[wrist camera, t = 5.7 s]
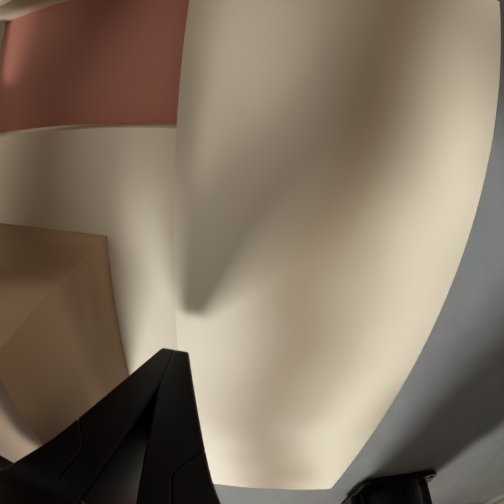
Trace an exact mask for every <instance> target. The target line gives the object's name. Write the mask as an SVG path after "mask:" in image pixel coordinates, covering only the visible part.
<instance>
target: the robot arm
mask: <svg viewBox="0 0 504 504" xmlns="http://www.w3.org/2000/svg"><path fill="white" fill-rule="evenodd" d="M436 475H437V474H436V470H432V471H427V472H422V473H417V474H411V475H405V476H399V477H392V478H384V479H376V480H369V481H366V482H364V483H363V484H362V485H361V486H360V487H359V488H358V489H357V490H356V491H355V492H354V493H353V494H352V495H351V496H350V497H349V498H348V499H347V500H346V501H345V502H344V503H343V504H432V500H431V496H430V492H429V488H428V484H427V483H428V482H430V481H431V480H432V479H433V478H434V477H435V476H436ZM0 504H221V503H220V500H219V498H218V495H217V493H216V490H215V487H214V484H213V481H212V478H211V474H210V470H209V466H208V462H207V457H206V452H205V447H204V442H203V437H202V432H201V426H200V421H199V415H198V409H197V403H196V397H195V391H194V385H193V378H192V372H191V365H190V358H189V353H188V352H185V351H179V350H173V349H168V348H162V349H160V350H159V351H158V352H157V353H155V354H154V355H153V356H152V357H151V358H150V359H148V360H147V361H146V362H145V363H144V364H142V365H141V366H140V367H139V368H138V369H137V370H135V371H134V372H133V373H132V374H131V375H129V376H128V377H127V378H126V379H125V380H124V381H122V382H121V383H120V384H119V385H118V386H116V387H115V388H114V389H113V390H112V391H110V392H109V393H108V394H107V395H106V396H104V397H103V398H102V399H101V400H100V401H99V402H97V403H96V404H95V405H94V406H93V407H91V408H90V409H89V410H88V411H87V412H85V413H84V414H83V415H82V416H81V417H79V420H76V421H74V422H73V423H72V424H71V425H69V426H68V427H67V428H66V429H64V430H63V431H62V432H61V433H59V434H58V435H57V436H55V437H54V438H53V439H51V440H50V441H48V442H47V443H45V444H44V445H42V446H41V447H39V448H37V449H36V450H34V451H33V452H31V453H29V454H28V455H26V456H24V457H23V458H21V459H19V460H18V461H16V462H15V463H13V464H11V465H10V466H8V467H6V468H4V469H2V470H0Z"/></svg>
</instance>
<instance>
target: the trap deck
mask: <svg viewBox="0 0 504 504" xmlns="http://www.w3.org/2000/svg"><path fill="white" fill-rule="evenodd" d="M500 59H501V21H500V2H499V1H498V0H0V223H3V224H12V225H20V226H29V227H37V228H45V229H54V230H62V231H71V232H79V233H88V234H96V235H105V236H107V242H108V253H109V262H110V270H111V278H112V286H113V293H114V300H115V306H116V312H117V318H118V324H119V330H120V335H121V340H122V346H123V351H124V355H125V360H126V365H127V369H128V374H129V375H131V374H132V373H133V372H134V371H135V370H137V369H138V368H139V367H140V366H141V365H142V364H144V363H145V362H146V361H147V360H148V359H150V358H151V357H152V356H153V355H154V354H155V353H157V352H158V351H159V350H160V349H162V348H168V349H173V350H179V351H185V352H188V353H189V358H190V365H191V372H192V378H193V385H194V391H195V397H196V403H197V409H198V415H199V421H200V426H201V432H202V437H203V442H204V447H205V452H206V457H207V462H208V466H209V470H210V474H211V478H212V481H213V484H221V485H230V486H240V487H251V488H267V489H331V487H332V486H333V485H334V484H335V483H336V481H337V480H338V479H339V478H340V476H341V475H342V474H343V473H344V471H345V470H346V469H347V468H348V466H349V465H350V464H351V462H352V461H353V460H354V458H355V457H356V456H357V454H358V453H359V452H360V450H361V449H362V447H363V446H364V445H365V443H366V442H367V440H368V439H369V438H370V436H371V435H372V433H373V432H374V430H375V429H376V427H377V426H378V424H379V423H380V421H381V420H382V418H383V417H384V415H385V413H386V412H387V410H388V409H389V407H390V406H391V404H392V402H393V401H394V399H395V397H396V396H397V394H398V392H399V391H400V389H401V387H402V385H403V384H404V382H405V380H406V378H407V377H408V375H409V373H410V371H411V369H412V368H413V366H414V364H415V362H416V360H417V358H418V356H419V354H420V353H421V351H422V349H423V347H424V345H425V343H426V341H427V339H428V336H429V334H430V332H431V330H432V328H433V326H434V324H435V322H436V319H437V317H438V315H439V313H440V311H441V308H442V306H443V304H444V301H445V299H446V297H447V294H448V292H449V289H450V287H451V284H452V282H453V279H454V277H455V274H456V271H457V269H458V266H459V263H460V260H461V258H462V255H463V252H464V249H465V246H466V243H467V240H468V237H469V234H470V230H471V227H472V224H473V221H474V217H475V214H476V210H477V206H478V203H479V199H480V195H481V191H482V187H483V183H484V179H485V174H486V170H487V165H488V160H489V155H490V150H491V144H492V138H493V132H494V125H495V118H496V110H497V102H498V91H499V79H500Z"/></svg>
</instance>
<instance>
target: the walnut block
mask: <svg viewBox="0 0 504 504" xmlns="http://www.w3.org/2000/svg"><path fill="white" fill-rule="evenodd" d="M128 376H129V374H128V369H127V365H126V360H125V355H124V351H123V346H122V340H121V335H120V330H119V324H118V318H117V312H116V306H115V300H114V293H113V286H112V278H111V270H110V262H109V253H108V242H107V236H105V235H96V234H88V233H79V232H71V231H62V230H54V229H45V228H37V227H29V226H20V225H12V224H3V223H0V455H1V456H3V457H4V458H6V459H8V460H9V461H11V462H13V463H15V462H16V461H18V460H19V459H21V458H23V457H24V456H26V455H28V454H29V453H31V452H33V451H34V450H36V449H37V448H39V447H41V446H42V445H44V444H45V443H47V442H48V441H50V440H51V439H53V438H54V437H55V436H57V435H58V434H59V433H61V432H62V431H63V430H64V429H66V428H67V427H68V426H69V425H71V424H72V423H73V422H74V421H76V420H79V417H81V416H82V415H83V414H84V413H85V412H87V411H88V410H89V409H90V408H91V407H93V406H94V405H95V404H96V403H97V402H99V401H100V400H101V399H102V398H103V397H104V396H106V395H107V394H108V393H109V392H110V391H112V390H113V389H114V388H115V387H116V386H118V385H119V384H120V383H121V382H122V381H124V380H125V379H126V378H127V377H128Z"/></svg>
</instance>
